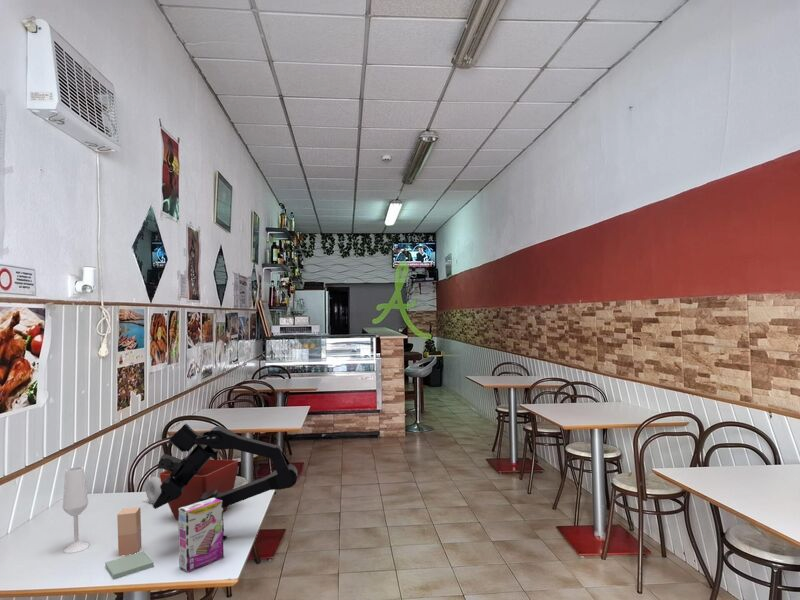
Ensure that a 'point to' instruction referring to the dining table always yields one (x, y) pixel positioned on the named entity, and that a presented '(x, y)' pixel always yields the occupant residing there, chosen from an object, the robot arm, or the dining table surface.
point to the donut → (153, 489)
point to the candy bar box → (200, 533)
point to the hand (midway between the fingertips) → (157, 502)
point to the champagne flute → (75, 502)
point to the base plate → (129, 564)
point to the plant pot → (205, 482)
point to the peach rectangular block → (129, 531)
